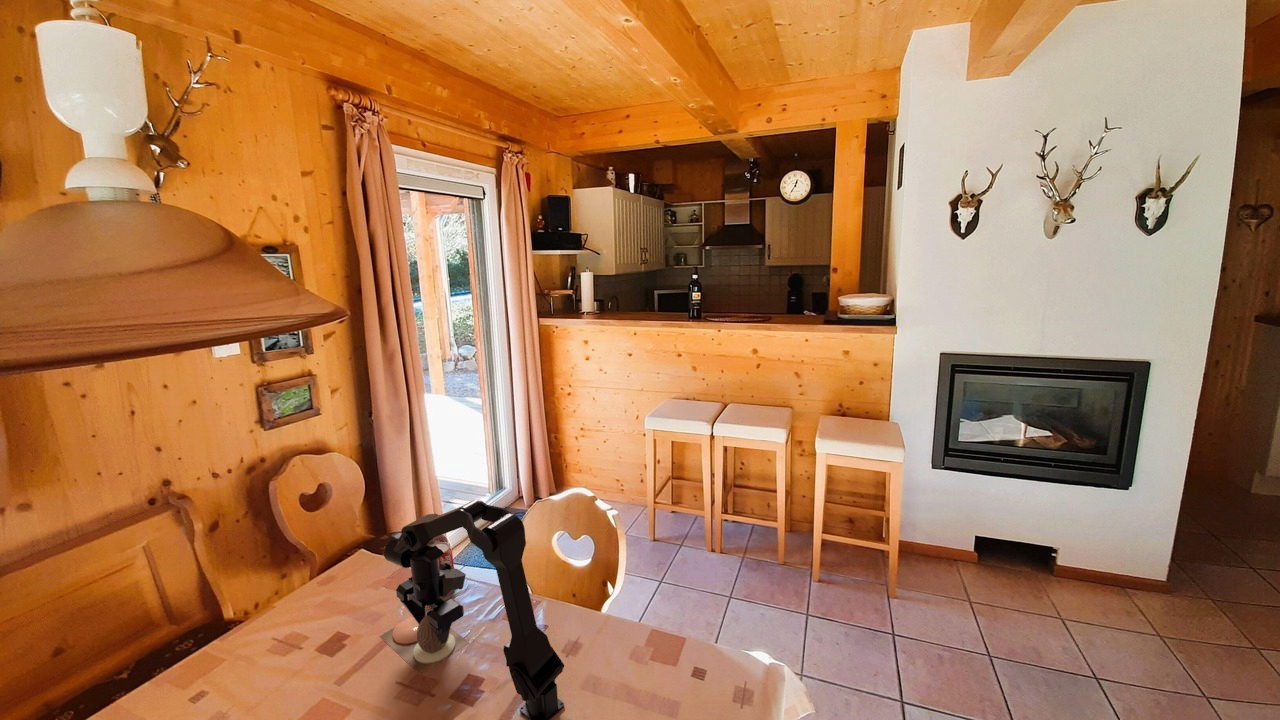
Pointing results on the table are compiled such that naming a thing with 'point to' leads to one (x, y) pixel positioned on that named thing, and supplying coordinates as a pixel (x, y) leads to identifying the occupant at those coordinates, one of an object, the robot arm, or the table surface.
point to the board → (407, 649)
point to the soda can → (445, 555)
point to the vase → (428, 636)
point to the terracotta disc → (406, 631)
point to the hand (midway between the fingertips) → (432, 633)
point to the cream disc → (436, 656)
